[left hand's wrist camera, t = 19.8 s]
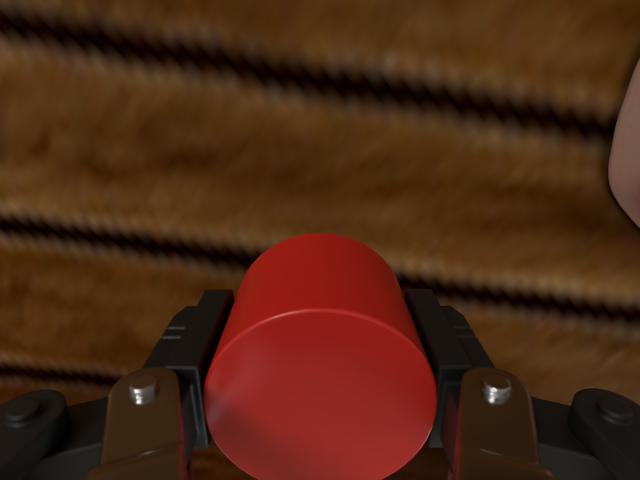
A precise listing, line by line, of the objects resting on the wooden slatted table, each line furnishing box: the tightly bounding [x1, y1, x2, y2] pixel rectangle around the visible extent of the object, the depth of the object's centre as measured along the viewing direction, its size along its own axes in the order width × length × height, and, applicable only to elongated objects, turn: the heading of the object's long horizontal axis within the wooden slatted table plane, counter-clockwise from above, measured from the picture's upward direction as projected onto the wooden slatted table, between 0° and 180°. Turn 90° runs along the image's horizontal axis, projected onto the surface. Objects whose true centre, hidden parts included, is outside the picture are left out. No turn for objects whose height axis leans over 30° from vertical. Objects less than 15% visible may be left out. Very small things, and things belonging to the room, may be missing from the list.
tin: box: [203, 233, 437, 480], centre depth 11 cm, size 5×5×4 cm
